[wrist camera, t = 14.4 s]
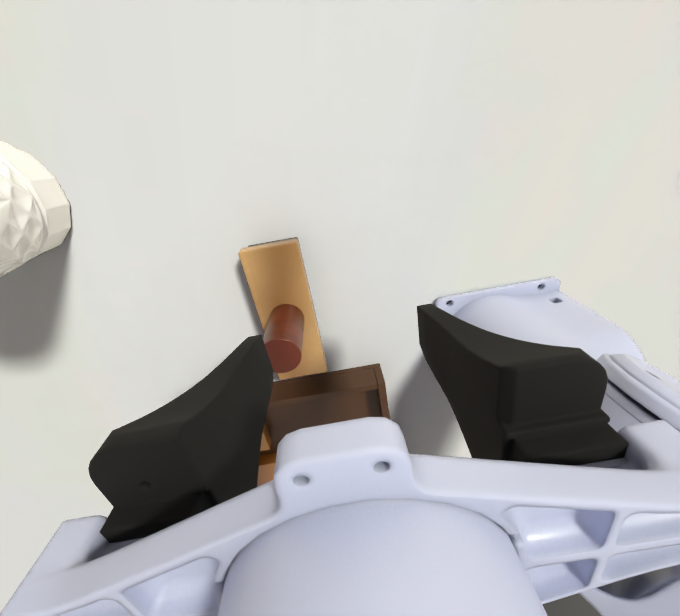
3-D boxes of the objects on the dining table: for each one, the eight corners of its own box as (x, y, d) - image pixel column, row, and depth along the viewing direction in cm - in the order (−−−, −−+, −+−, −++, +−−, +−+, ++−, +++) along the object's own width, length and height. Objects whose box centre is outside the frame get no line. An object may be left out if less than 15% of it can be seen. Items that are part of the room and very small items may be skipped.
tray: (379, 363, 27) (384, 382, 25) (394, 469, 34) (399, 492, 31) (195, 395, 27) (184, 417, 25) (245, 494, 34) (240, 518, 32)
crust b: (276, 451, 31) (275, 462, 30) (286, 477, 32) (285, 489, 31) (236, 458, 31) (233, 470, 30) (248, 484, 32) (246, 495, 31)
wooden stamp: (298, 233, 22) (291, 266, 16) (326, 355, 26) (329, 416, 20) (244, 243, 22) (217, 279, 16) (282, 363, 26) (271, 426, 21)
